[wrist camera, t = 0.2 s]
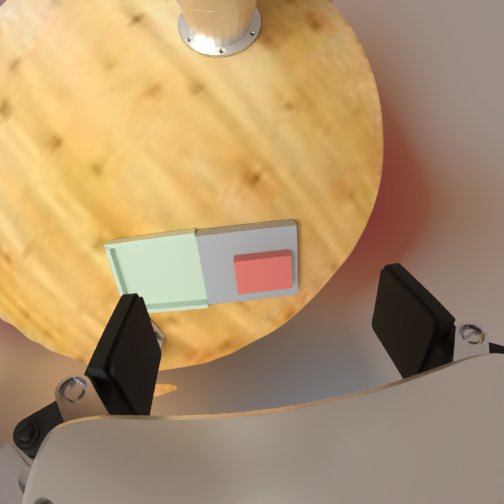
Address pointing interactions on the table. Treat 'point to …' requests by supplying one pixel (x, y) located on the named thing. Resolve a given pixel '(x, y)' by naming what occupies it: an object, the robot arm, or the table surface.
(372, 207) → the table surface
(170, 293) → the tray
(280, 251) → the salmon red thick block
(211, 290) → the grey flat slab
